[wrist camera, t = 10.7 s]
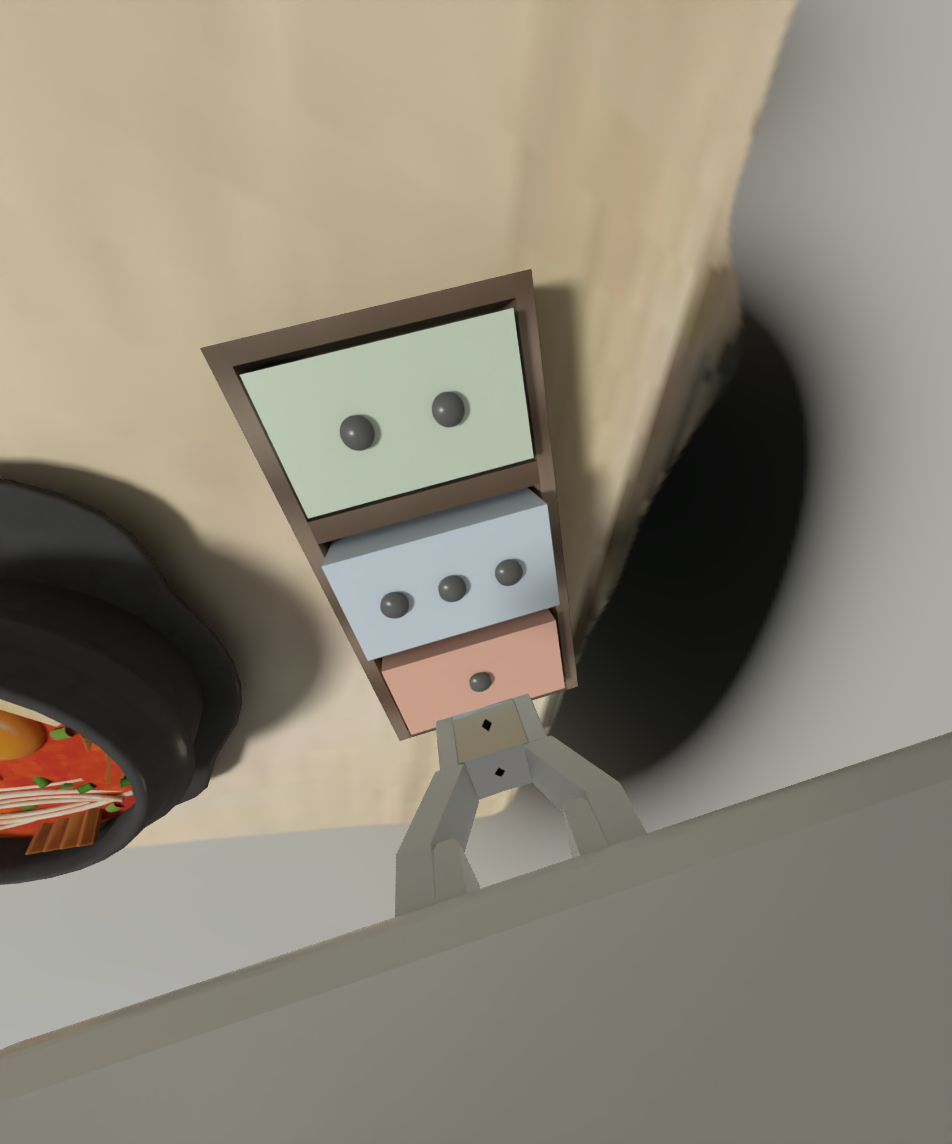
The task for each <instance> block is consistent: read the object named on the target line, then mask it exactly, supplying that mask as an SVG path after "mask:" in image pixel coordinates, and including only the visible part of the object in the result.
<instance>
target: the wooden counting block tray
mask: <svg viewBox="0 0 952 1144" xmlns="http://www.w3.org/2000/svg"><path fill="white" fill-rule="evenodd" d="M511 308H513V309H514V317H515V324H516V331H517V339H518V346H519V353H520V361H521V368H522V376H523V383H524V390H525V398H526V405H527V412H528V420H529V427H530V434H531V442H532V449H533V457H534V458H531V459H527V460H524V461H520V462H516V463H513V464H509V465H505V466H501V467H498V468H494V469H490V470H487V471H483V472H479V473H475V474H472V475H468V476H464V477H460V478H457V479H453V480H449V481H446V482H442V483H438V484H434V485H431V486H427V487H423V488H420V489H416V490H412V491H408V492H405V493H401V494H397V495H394V496H390V497H386V498H382V499H379V500H375V501H371V502H368V503H364V504H360V505H356V506H353V507H349V508H345V509H342V510H338V511H334V512H330V513H327V514H323V515H319V516H316V517H312V518H308V517H307V515H306V513H305V511H304V509H303V507H302V505H301V503H300V500H299V498H298V496H297V494H296V492H295V490H294V488H293V486H292V484H291V482H290V480H289V477H288V475H287V473H286V471H285V469H284V467H283V465H282V463H281V461H280V459H279V456H278V454H277V452H276V450H275V448H274V446H273V444H272V442H271V440H270V438H269V436H268V433H267V431H266V429H265V427H264V425H263V423H262V421H261V419H260V417H259V415H258V412H257V410H256V408H255V406H254V404H253V402H252V400H251V398H250V396H249V394H248V392H247V389H246V387H245V385H244V383H243V381H242V379H241V377H240V375H241V374H245V373H250V372H254V371H258V370H262V369H266V368H270V367H274V366H278V365H282V364H286V363H290V362H294V361H299V360H303V359H307V358H311V357H315V356H319V355H323V354H327V353H331V352H335V351H339V350H343V349H348V348H352V347H356V346H360V345H364V344H368V343H372V342H376V341H380V340H384V339H388V338H392V337H397V336H401V335H405V334H409V333H413V332H417V331H421V330H425V329H429V328H433V327H437V326H442V325H446V324H450V323H454V322H458V321H462V320H466V319H470V318H474V317H478V316H482V315H486V314H491V313H495V312H499V311H503V310H507V309H511ZM200 349H201V351H202V353H203V355H204V357H205V359H206V361H207V363H208V365H209V367H210V368H211V370H212V372H213V374H214V376H215V378H216V380H217V382H218V384H219V386H220V388H221V390H222V392H223V394H224V396H225V398H226V400H227V402H228V404H229V406H230V408H231V410H232V412H233V414H234V416H235V418H236V420H237V422H238V424H239V426H240V427H241V429H242V431H243V433H244V435H245V437H246V439H247V441H248V443H249V445H250V447H251V449H252V451H253V453H254V455H255V457H256V459H257V461H258V463H259V465H260V467H261V469H262V471H263V473H264V475H265V477H266V479H267V481H268V483H269V485H270V486H271V488H272V490H273V492H274V494H275V496H276V498H277V500H278V502H279V504H280V506H281V508H282V510H283V512H284V514H285V516H286V518H287V520H288V522H289V524H290V526H291V528H292V530H293V532H294V534H295V536H296V538H297V540H298V542H299V544H300V545H301V547H302V549H303V551H304V553H305V555H306V557H307V559H308V561H309V563H310V565H311V567H312V569H313V571H314V573H315V575H316V577H317V579H318V581H319V583H320V585H321V587H322V589H323V591H324V593H325V595H326V597H327V599H328V601H329V603H330V604H331V606H332V608H333V610H334V612H335V614H336V616H337V618H338V620H339V622H340V624H341V626H342V628H343V630H344V632H345V634H346V636H347V638H348V640H349V642H350V644H351V646H352V648H353V650H354V652H355V654H356V656H357V658H358V660H359V661H360V663H361V665H362V667H363V669H364V671H365V673H366V675H367V677H368V679H369V681H370V683H371V685H372V687H373V689H374V691H375V693H376V695H377V697H378V699H379V701H380V703H381V705H382V707H383V709H384V711H385V713H386V715H387V717H388V719H389V720H390V722H391V724H392V726H393V728H394V730H395V732H396V734H397V736H398V738H399V740H400V741H401V740H404V739H408V738H411V737H414V736H417V735H421V734H424V733H427V732H430V731H434V730H436V728H432V729H429V730H426V731H423V732H419V733H416V734H413V735H411V733H410V731H409V729H408V727H407V725H406V722H405V720H404V718H403V716H402V714H401V712H400V710H399V708H398V706H397V704H396V702H395V699H394V697H393V695H392V693H391V691H390V689H389V687H388V685H387V683H386V681H385V678H384V676H383V674H382V672H381V670H382V657H380V658H376V659H373V660H369V661H368V660H367V658H366V656H365V654H364V652H363V650H362V648H361V646H360V644H359V642H358V640H357V638H356V636H355V634H354V632H353V630H352V628H351V626H350V624H349V622H348V620H347V618H346V616H345V614H344V612H343V610H342V608H341V606H340V604H339V601H338V599H337V597H336V595H335V593H334V591H333V589H332V587H331V585H330V583H329V581H328V579H327V577H326V575H325V573H324V571H323V569H322V567H321V566H322V564H323V562H324V559H325V557H326V555H327V552H328V550H329V548H330V545H331V543H332V541H333V540H336V539H339V538H343V537H347V536H350V535H354V534H358V533H361V532H365V531H369V530H372V529H376V528H380V527H383V526H387V525H391V524H394V523H398V522H402V521H405V520H409V519H413V518H416V517H420V516H424V515H427V514H431V513H435V512H438V511H442V510H446V509H449V508H453V507H457V506H460V505H464V504H467V503H471V502H475V501H478V500H482V499H486V498H489V497H493V496H497V495H500V494H504V493H508V492H511V491H515V490H519V489H522V488H526V487H527V488H529V489H530V490H531V491H532V492H533V493H535V494H536V495H537V496H538V497H539V498H541V499H542V500H543V501H544V502H545V503H546V504H547V506H548V514H549V522H550V530H551V538H552V546H553V554H554V562H555V570H556V578H557V586H558V594H559V602H560V605H557V606H554V607H550V608H547V609H549V611H550V612H551V614H552V615H553V617H554V618H555V620H556V626H557V633H558V641H559V648H560V655H561V663H562V670H563V677H564V685H565V688H563V689H560V690H556V691H553V692H550V693H546V694H543V695H540V696H537V697H533V698H531V699H532V700H535V699H538V698H541V697H544V696H548V695H551V694H554V693H557V692H561V691H564V690H567V689H570V688H574V687H577V686H578V685H577V676H576V667H575V658H574V649H573V640H572V631H571V622H570V613H569V604H568V595H567V586H566V577H565V568H564V559H563V550H562V541H561V532H560V523H559V514H558V505H557V496H556V487H555V478H554V469H553V460H552V451H551V441H550V432H549V423H548V414H547V405H546V396H545V387H544V378H543V369H542V360H541V351H540V342H539V333H538V324H537V315H536V306H535V297H534V288H533V279H532V270H531V269H529V270H525V271H521V272H517V273H512V274H508V275H504V276H500V277H496V278H492V279H487V280H483V281H479V282H475V283H471V284H466V285H462V286H458V287H454V288H450V289H446V290H441V291H437V292H433V293H429V294H425V295H421V296H416V297H412V298H408V299H404V300H400V301H395V302H391V303H387V304H383V305H379V306H375V307H370V308H366V309H362V310H358V311H354V312H350V313H345V314H341V315H337V316H333V317H329V318H324V319H320V320H316V321H312V322H308V323H304V324H299V325H295V326H291V327H287V328H283V329H278V330H274V331H270V332H266V333H262V334H258V335H253V336H249V337H245V338H241V339H237V340H233V341H228V342H224V343H220V344H216V345H212V346H207V347H203V348H200ZM543 610H545V609H543ZM540 611H542V610H540ZM536 612H539V611H536ZM533 613H535V612H533ZM530 614H532V613H530ZM526 615H528V614H526ZM523 616H525V615H523ZM519 617H521V616H519ZM516 618H518V617H516ZM513 619H515V618H513ZM509 620H511V619H509ZM506 621H508V620H506ZM502 622H504V621H502ZM499 623H501V622H499ZM496 624H498V623H496ZM492 625H494V624H492ZM489 626H491V625H489ZM485 627H487V626H485ZM482 628H484V627H482ZM479 629H481V628H479ZM475 630H477V629H475ZM472 631H474V630H472ZM468 632H470V631H468ZM465 633H467V632H465ZM461 634H464V633H461ZM458 635H460V634H458ZM455 636H457V635H455ZM451 637H453V636H451ZM448 638H450V637H448ZM444 639H447V638H444ZM441 640H443V639H441ZM438 641H440V640H438ZM434 642H436V641H434ZM431 643H433V642H431ZM427 644H429V643H427ZM424 645H426V644H424ZM421 646H423V645H421ZM417 647H419V646H417ZM414 648H416V647H414ZM410 649H412V648H410ZM407 650H409V649H407ZM404 651H406V650H404ZM400 652H402V651H400ZM397 653H399V652H397ZM393 654H395V653H393ZM390 655H392V654H390ZM386 656H389V655H386ZM383 657H385V656H383Z"/></svg>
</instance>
